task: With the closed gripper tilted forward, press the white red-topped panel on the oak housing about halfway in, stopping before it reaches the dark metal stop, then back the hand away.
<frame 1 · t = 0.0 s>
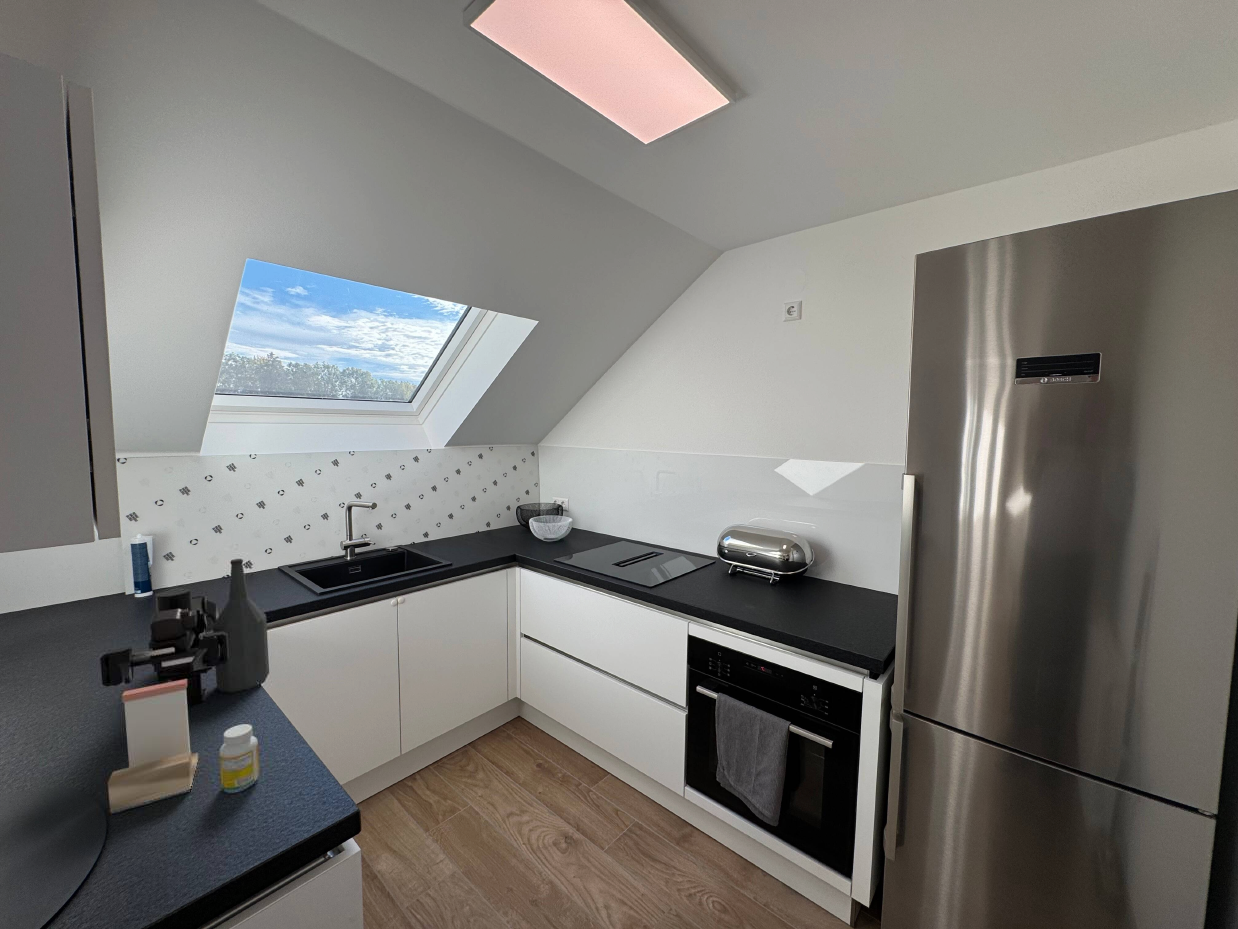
hand: (159, 674, 97), 17 cm above the worktop, tool horizontal, fingers open, 9 cm apart
white red-topped panel: (158, 726, 94), point 9 cm above the worktop, slide at 0.0 cm
oak key housing: (157, 785, 91), on the worktop
supplement bottle: (241, 785, 92), on the worktop
bottle: (243, 683, 127), on the worktop
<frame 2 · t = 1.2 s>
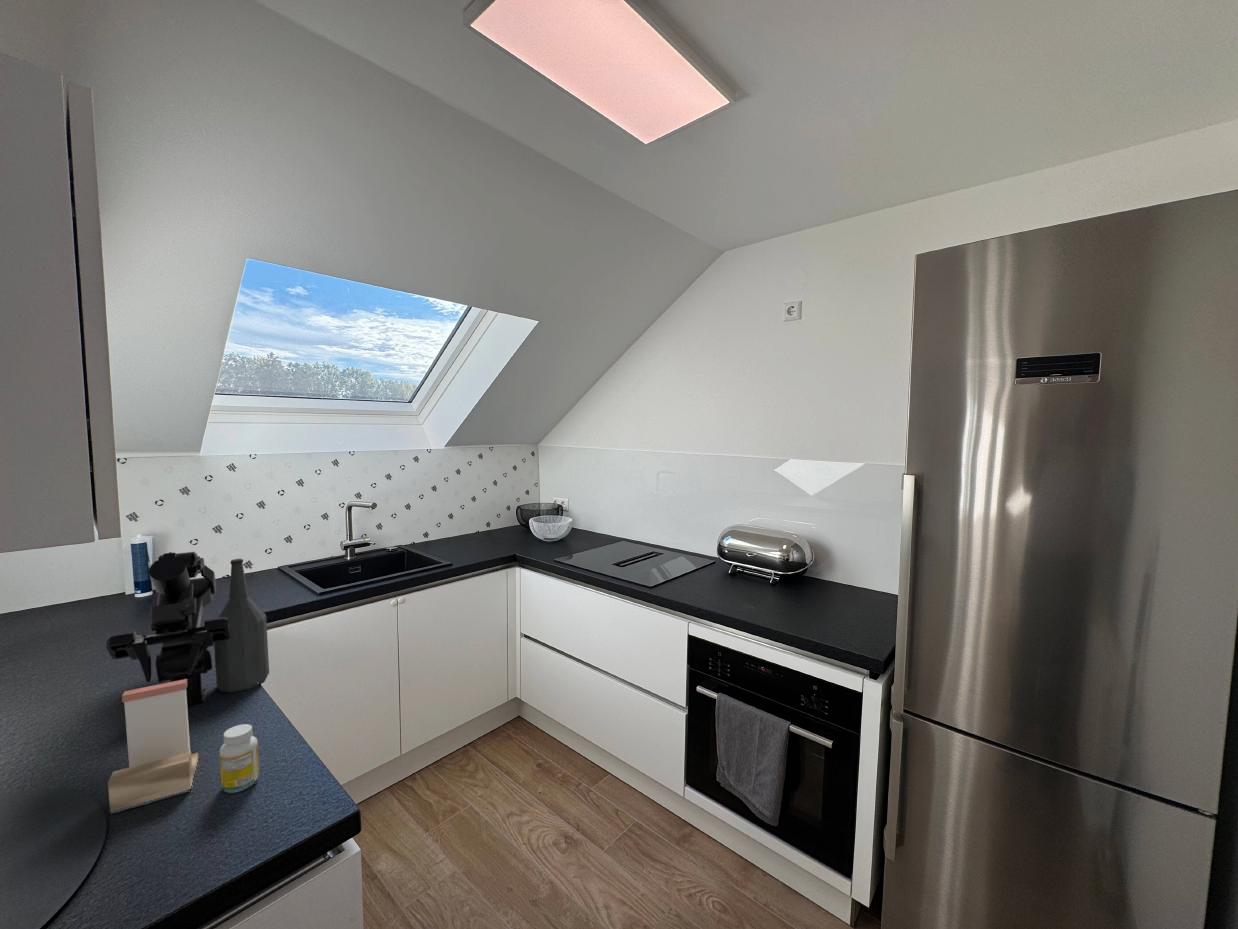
hand: (169, 677, 104), 13 cm above the worktop, tool tilted 45°, fingers open, 6 cm apart
nothing on the worktop moved.
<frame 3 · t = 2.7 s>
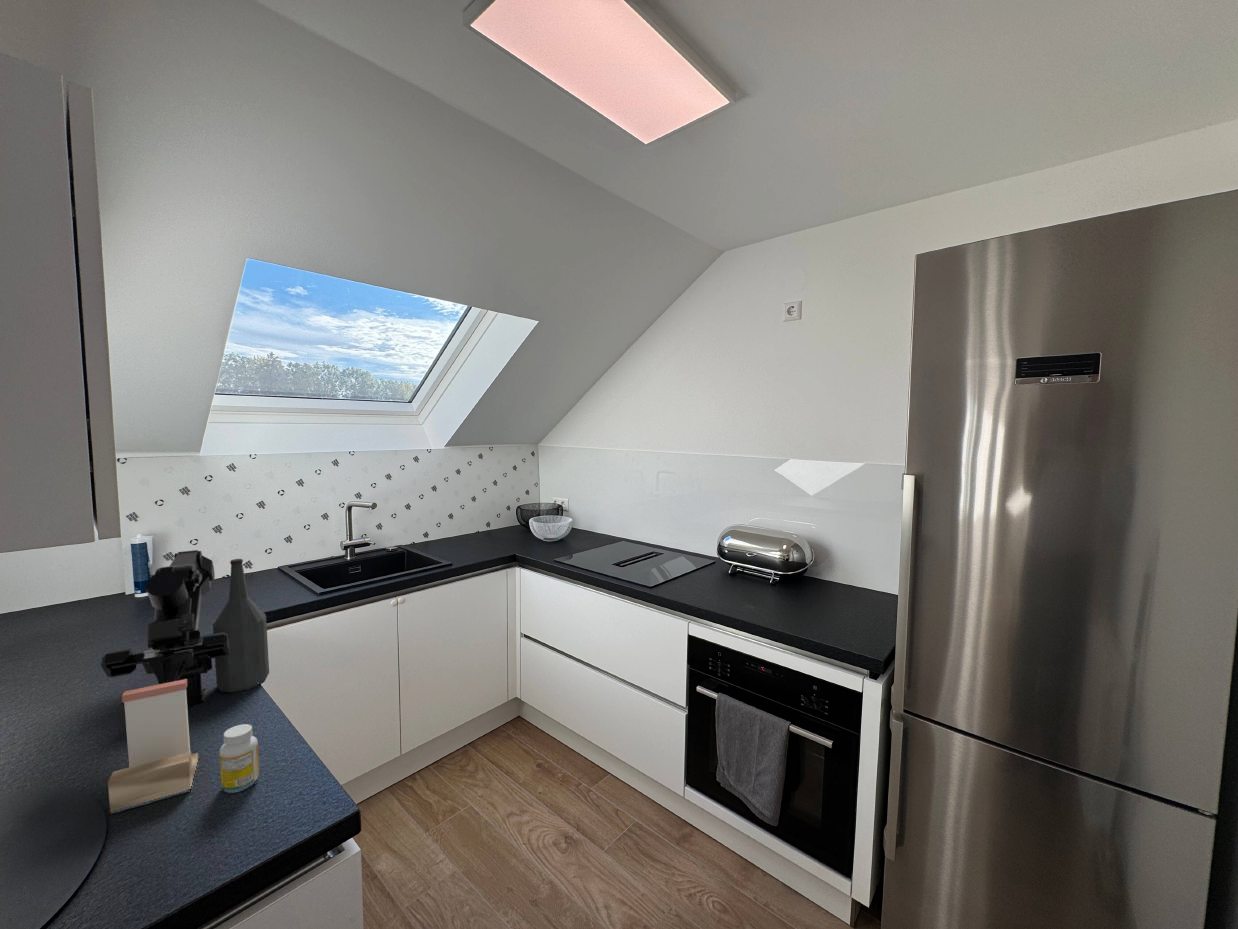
hand: (166, 696, 100), 11 cm above the worktop, tool tilted 45°, fingers closed
nothing on the worktop moved.
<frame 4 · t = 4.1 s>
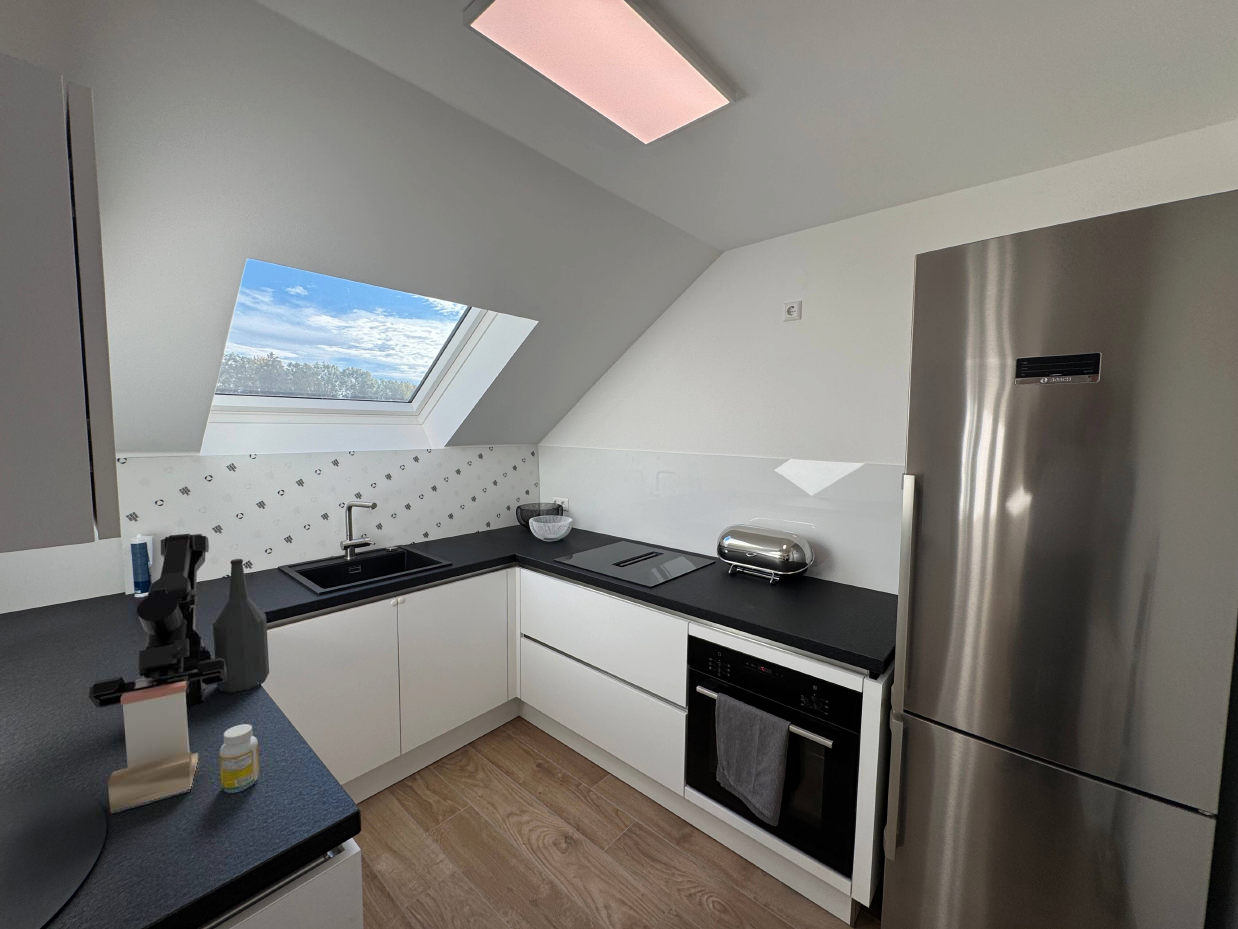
hand: (158, 728, 94), 8 cm above the worktop, tool tilted 45°, fingers closed, pressing on white red-topped panel
white red-topped panel: (157, 728, 93), point 9 cm above the worktop, slide at 0.9 cm, touching gripper
everything else where it was.
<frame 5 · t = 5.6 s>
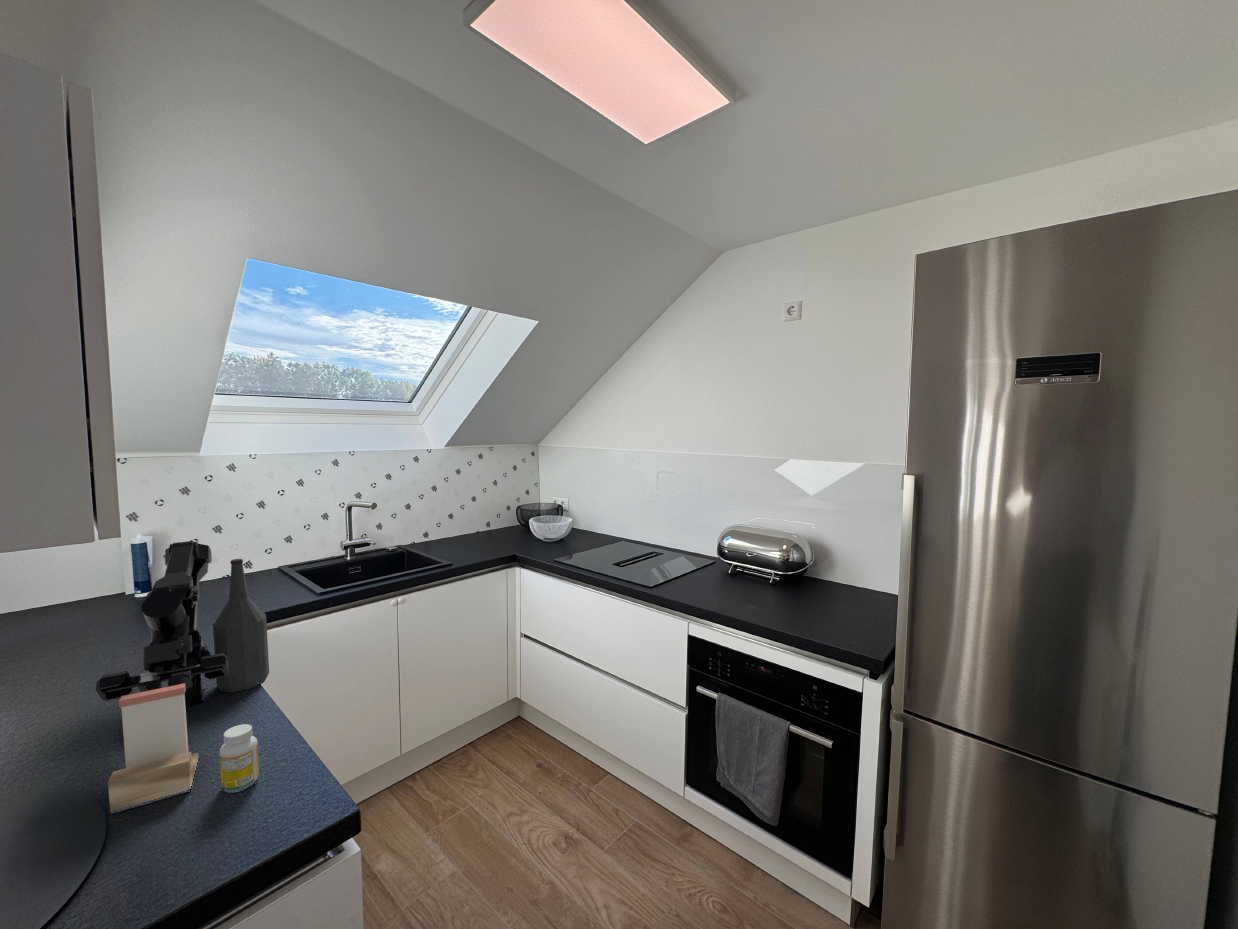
hand: (163, 721, 97), 8 cm above the worktop, tool tilted 45°, fingers closed
white red-topped panel: (156, 731, 92), point 9 cm above the worktop, slide at 1.9 cm
everything else where it was.
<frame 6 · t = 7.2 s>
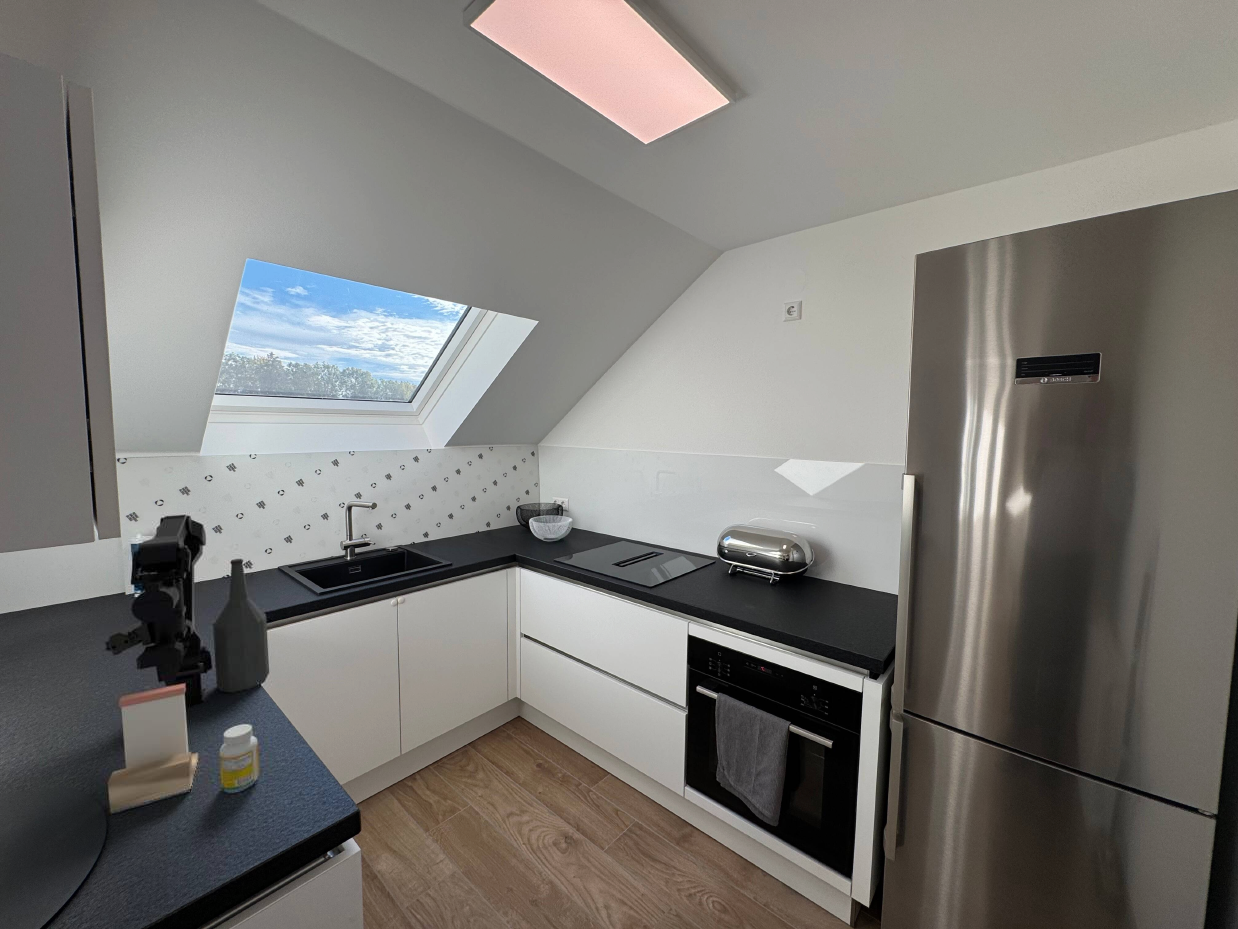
hand: (169, 685, 104), 11 cm above the worktop, tool pointing down, fingers closed
nothing on the worktop moved.
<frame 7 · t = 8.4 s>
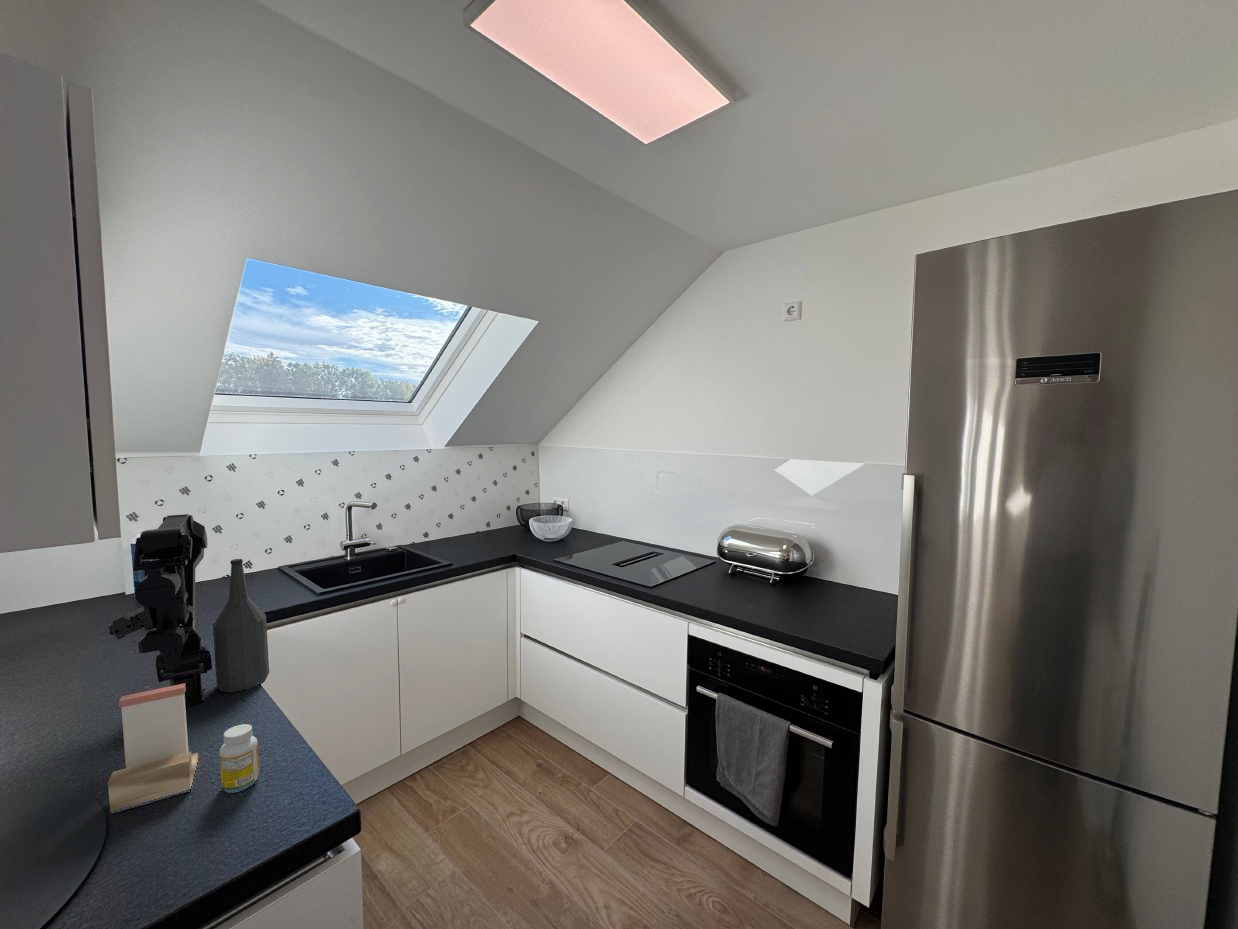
hand: (172, 669, 106), 13 cm above the worktop, tool pointing down, fingers closed
nothing on the worktop moved.
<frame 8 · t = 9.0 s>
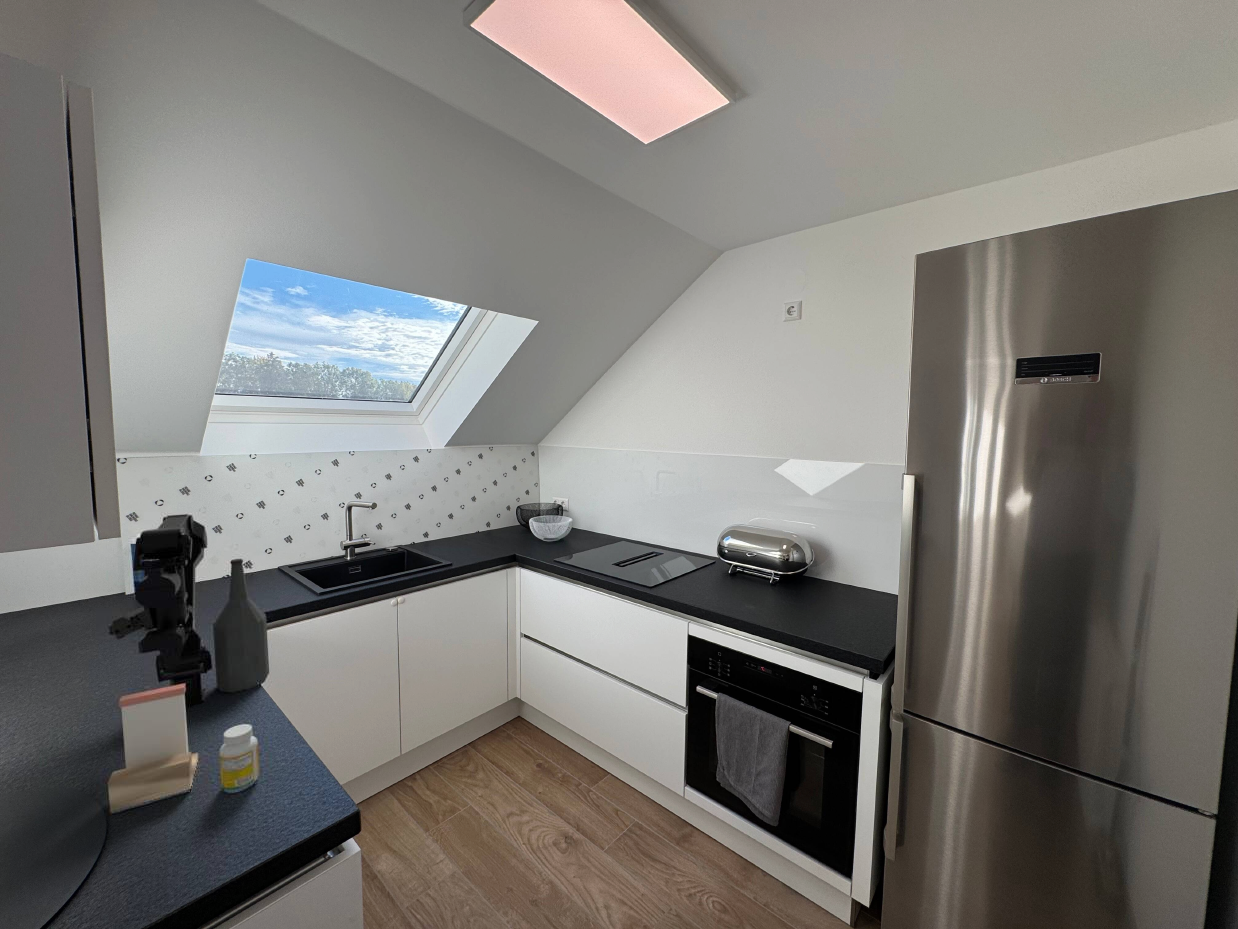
hand: (172, 669, 106), 13 cm above the worktop, tool pointing down, fingers closed
nothing on the worktop moved.
at the end: white red-topped panel slide at 1.9 cm; supplement bottle moved 0.2 cm from its start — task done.
